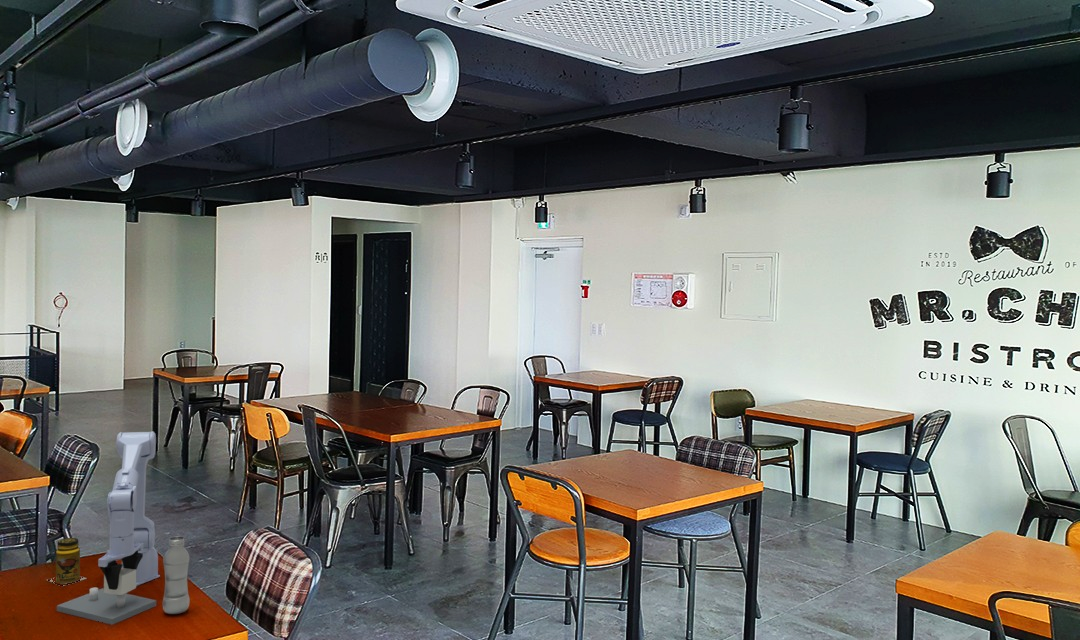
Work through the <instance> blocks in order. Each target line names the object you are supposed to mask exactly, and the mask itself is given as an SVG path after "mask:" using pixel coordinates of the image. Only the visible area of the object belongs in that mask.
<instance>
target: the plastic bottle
mask: <svg viewBox="0 0 1080 640" xmlns="http://www.w3.org/2000/svg"><path fill="white" fill-rule="evenodd" d="M184 545H185V537H184V536H172V537H169V539H168V546H169V548H168V549H167V550H166V552H165V553H164V555H163V558H162V563H163V569H164V582H165V583H164V594H163V599H162V605H161V606H162V611H164V613H165V614H168V615H179V614H183V613H185V612H186V611H187V610H188V609H189V606H190V603H191V602H190V595H189V589H188V570H189V563H190V559H191V558H190V554H189V552H188V550H187V549H186V547H184Z"/></svg>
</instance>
